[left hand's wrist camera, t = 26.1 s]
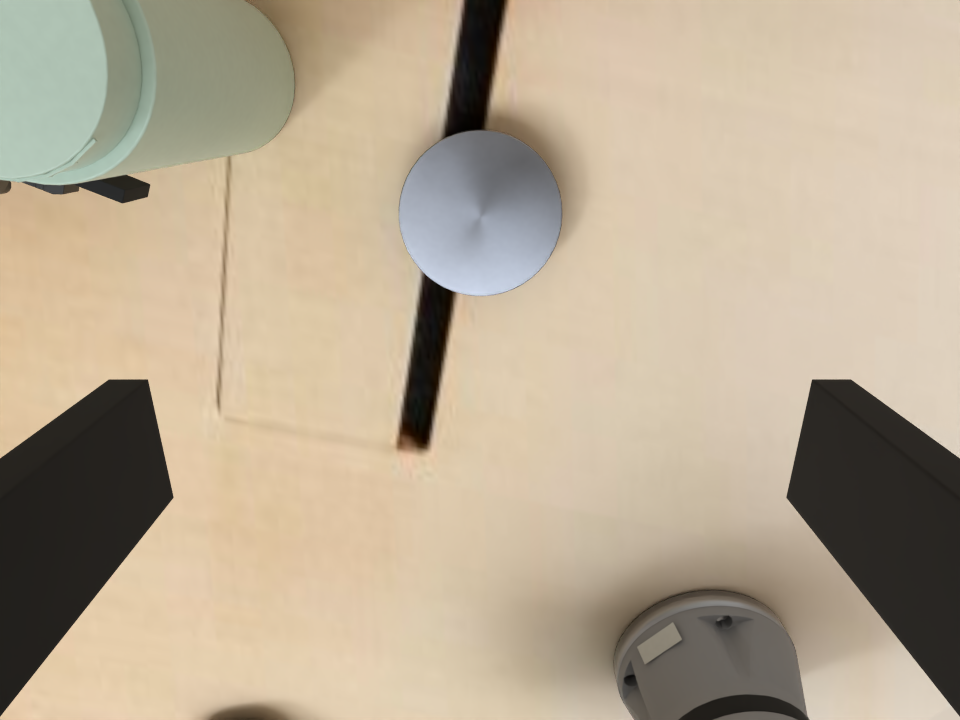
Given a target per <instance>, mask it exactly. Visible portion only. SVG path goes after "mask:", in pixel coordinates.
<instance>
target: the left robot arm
mask: <svg viewBox="0 0 960 720" xmlns="http://www.w3.org/2000/svg"><path fill="white" fill-rule="evenodd" d="M173 498H174V497H173V493H172V488H171V484H170V479H169V474H168V470H167V465H166V461H165V456H164V452H163V447H162V442H161V438H160V433H159V429H158V424H157V419H156V415H155V410H154V406H153V401H152V397H151V392H150V387H149V383H148V380H108V381H106V382H105V383H104V384H102V385H101V386H100V387H98V388H97V389H95V390H94V391H93V392H91V393H90V394H88V395H87V396H86V397H84V398H83V399H82V400H80V401H79V402H77V403H76V404H75V405H73V406H72V407H71V408H69V409H68V410H66V411H65V412H64V413H62V414H61V415H60V416H58V417H57V418H55V419H54V420H53V421H51V422H50V423H49V424H47V425H46V426H44V427H43V428H42V429H40V430H39V431H37V432H36V433H35V434H33V435H32V436H31V437H29V438H28V439H26V440H25V441H24V442H22V443H21V444H20V445H18V446H17V447H15V448H14V449H13V450H11V451H10V452H9V453H7V454H6V455H4V456H3V457H2V458H0V716H1V715H2V714H3V712H4V711H5V710H6V708H7V707H8V706H9V705H10V703H11V702H12V701H13V700H14V698H15V697H16V696H17V695H18V693H19V692H20V691H21V690H22V688H23V687H24V686H25V684H26V683H27V682H28V681H29V679H30V678H31V677H32V676H33V674H34V673H35V672H36V671H37V669H38V668H39V667H40V666H41V664H42V663H43V662H44V660H45V659H46V658H47V657H48V655H49V654H50V653H51V652H52V650H53V649H54V648H55V647H56V645H57V644H58V643H59V642H60V640H61V639H62V638H63V636H64V635H65V634H66V633H67V631H68V630H69V629H70V628H71V626H72V625H73V624H74V623H75V621H76V620H77V619H78V618H79V616H80V615H81V614H82V612H83V611H84V610H85V609H86V607H87V606H88V605H89V604H90V602H91V601H92V600H93V599H94V597H95V596H96V595H97V594H98V592H99V591H100V590H101V588H102V587H103V586H104V585H105V583H106V582H107V581H108V580H109V578H110V577H111V576H112V575H113V573H114V572H115V571H116V570H117V568H118V567H119V566H120V565H121V563H122V562H123V561H124V559H125V558H126V557H127V556H128V554H129V553H130V552H131V551H132V549H133V548H134V547H135V546H136V544H137V543H138V542H139V541H140V539H141V538H142V537H143V535H144V534H145V533H146V532H147V530H148V529H149V528H150V527H151V525H152V524H153V523H154V522H155V520H156V519H157V518H158V517H159V515H160V514H161V513H162V511H163V510H164V509H165V508H166V506H167V505H168V504H169V503H170V501H171V500H172V499H173ZM786 498H787V499H788V500H789V501H790V503H791V504H792V505H793V506H794V508H795V509H796V510H797V511H798V513H799V514H800V515H801V517H802V518H803V519H804V520H805V522H806V523H807V524H808V525H809V527H810V528H811V529H812V530H813V532H814V533H815V534H816V535H817V537H818V538H819V539H820V541H821V542H822V543H823V544H824V546H825V547H826V548H827V549H828V551H829V552H830V553H831V554H832V556H833V557H834V558H835V559H836V561H837V562H838V563H839V565H840V566H841V567H842V568H843V570H844V571H845V572H846V573H847V575H848V576H849V577H850V578H851V580H852V581H853V582H854V583H855V585H856V586H857V587H858V588H859V590H860V591H861V592H862V594H863V595H864V596H865V597H866V599H867V600H868V601H869V602H870V604H871V605H872V606H873V607H874V609H875V610H876V611H877V612H878V614H879V615H880V616H881V618H882V619H883V620H884V621H885V623H886V624H887V625H888V626H889V628H890V629H891V630H892V631H893V633H894V634H895V635H896V636H897V638H898V639H899V640H900V642H901V643H902V644H903V645H904V647H905V648H906V649H907V650H908V652H909V653H910V654H911V655H912V657H913V658H914V659H915V660H916V662H917V663H918V664H919V666H920V667H921V668H922V669H923V671H924V672H925V673H926V674H927V676H928V677H929V678H930V679H931V681H932V682H933V683H934V684H935V686H936V687H937V688H938V690H939V691H940V692H941V693H942V695H943V696H944V697H945V698H946V700H947V701H948V702H949V703H950V705H951V706H952V707H953V708H954V710H955V711H956V712H957V713H958V715H959V716H960V458H958V457H957V456H956V455H954V454H953V453H951V452H950V451H949V450H947V449H946V448H945V447H943V446H942V445H940V444H939V443H938V442H936V441H935V440H934V439H932V438H931V437H929V436H928V435H927V434H925V433H924V432H923V431H921V430H920V429H918V428H917V427H916V426H914V425H913V424H911V423H910V422H909V421H907V420H906V419H905V418H903V417H902V416H900V415H899V414H898V413H896V412H895V411H894V410H892V409H891V408H889V407H888V406H887V405H885V404H884V403H883V402H881V401H880V400H878V399H877V398H876V397H874V396H873V395H872V394H870V393H869V392H867V391H866V390H865V389H863V388H862V387H860V386H859V385H858V384H856V383H855V382H854V381H852V380H812V383H811V387H810V392H809V397H808V401H807V406H806V410H805V415H804V419H803V424H802V429H801V433H800V438H799V442H798V447H797V452H796V456H795V461H794V465H793V470H792V474H791V479H790V484H789V488H788V493H787V497H786ZM614 672H615V677H616V681H617V685H618V689H619V693H620V696H621V698H622V701H623V703H624V704H625V706H626V708H627V709H628V711H629V712H630V714H631V715H632V717H633V718H634V720H809V718H808V716H807V711H806V706H805V700H804V694H803V689H802V683H801V677H800V671H799V666H798V660H797V655H796V650H795V647H794V644H793V642H792V640H791V638H790V637H789V635H788V633H787V631H786V630H785V628H784V626H783V625H782V623H781V622H780V620H779V618H778V617H777V616H776V615H775V614H774V613H773V612H772V611H771V610H770V609H769V608H768V607H766V606H765V605H764V604H762V603H760V602H759V601H757V600H755V599H752V598H750V597H748V596H745V595H742V594H738V593H734V592H727V591H716V590H710V591H697V592H690V593H686V594H681V595H678V596H675V597H672V598H669V599H667V600H664V601H662V602H660V603H658V604H656V605H654V606H653V607H651V608H649V609H648V610H646V611H645V612H643V613H642V614H641V615H640V616H638V617H637V618H636V619H635V620H634V621H633V622H632V623H631V624H630V625H629V626H628V628H627V629H626V630H625V632H624V633H623V635H622V636H621V638H620V640H619V642H618V645H617V647H616V650H615V655H614Z"/></svg>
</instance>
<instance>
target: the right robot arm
mask: <svg viewBox="0 0 960 720" xmlns="http://www.w3.org/2000/svg"><path fill="white" fill-rule="evenodd" d="M23 183H25V184H28V185H30V186H33V187H36V188H38V189H41V190H44V191H46V192H49V193H51V194H67V193H71V192H76V191H79V187H82V188H84V189H87V190H89V191H92V192H94V193H97V194H100V195H102V196H105V197H107V198H110V199H113V200H115V201H118V202H120V203H126V202H130V201H134V200H137V199H141V198H145V197H148V193H149V188H150V184H148V183H145V182H143V181H140V180H138V179H135V178H133V177H130V176H128V175H122V176H116V177H110V178H105V179H99V180H94V181H88V182H83V183H77V184H68V185H44V184H38V183H33V182H27V181H23ZM10 189H11V182H10V181H6V180H0V194H3V193H7V192H9V191H10Z"/></svg>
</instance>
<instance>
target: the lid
mask: <svg viewBox="0 0 960 720" xmlns="http://www.w3.org/2000/svg"><path fill="white" fill-rule="evenodd" d="M399 223H400V230H401V234H402V237H403V241H404V243H405V246H406V248H407V250H408V252H409V254H410V256H411V257H412V259H413V261H414V262H415V263H416V264H417V266H418V267H419V268H420V269H421V270H422V271H423V272H424V273H425V274H426V275H427V276H428V277H429V278H430V279H432V280H433V281H434V282H436V283H437V284H439V285H441V286H443V287H444V288H447V289H449V290H451V291H454V292H457V293H461V294H465V295H472V296H489V295H496V294H500V293H504V292H507V291H509V290H512V289H514V288H516V287H518V286H520V285H522V284H524V283H525V282H526V281H528V280H529V279H531V278H532V277H533V276H534V275H535V274H536V273H537V272H539V270H540V269H541V268H542V267H543V266H544V265H545V263H546V262H547V260H548V259H549V257H550V256H551V254H552V252H553V250H554V248H555V246H556V243H557V240H558V237H559V234H560V229H561V224H562V202H561V197H560V192H559V189H558V186H557V183H556V180H555V178H554V176H553V174H552V172H551V170H550V169H549V167H548V166H547V164H546V163H545V162H544V160H543V159H542V158H541V157H540V156H539V155H538V154H537V153H536V152H535V151H534V150H533V149H532V148H530V147H529V146H528V145H526V144H525V143H523V142H522V141H520V140H519V139H517V138H515V137H513V136H511V135H509V134H506V133H503V132H499V131H494V130H489V129H474V130H466V131H462V132H458V133H455V134H453V135H450V136H448V137H446V138H444V139H442V140H441V141H439V142H437V143H436V144H435V145H433V146H432V147H431V148H429V149H428V150H427V151H426V152H425V153H424V154H423V155H422V156H421V157H420V158H419V159H418V160H417V162H416V163H415V164H414V166H413V167H412V169H411V171H410V172H409V174H408V176H407V178H406V180H405V183H404V186H403V188H402V192H401V196H400V203H399Z"/></svg>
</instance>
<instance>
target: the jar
mask: <svg viewBox="0 0 960 720" xmlns="http://www.w3.org/2000/svg"><path fill="white" fill-rule="evenodd" d="M294 91H295V80H294V71H293V65H292V61H291V58H290V55H289V52H288V49H287V47H286V45H285V42H284V41H283V39H282V37H281V35H280V34H279V32H278V31H277V29H276V28H275V27H274V25H273V24H272V23H271V22H270V20H269V19H268V18H267V17H266V16H265V15H264V14H263V13H262V12H260V11H259V10H258V9H257V8H256V7H254V6H253V5H251V4H250V3H248V2H247V1H245V0H0V180H6V181H16V182H23V181H27V182H33V183H38V184H44V185H68V184H77V183H83V182H88V181H94V180H99V179H105V178H110V177H116V176H122V175H127V174H133V173H138V172H144V171H149V170H155V169H160V168H166V167H171V166H177V165H182V164H188V163H193V162H199V161H204V160H210V159H215V158H221V157H226V156H232V155H237V154H243V153H247V152H251V151H253V150H256V149H258V148H260V147H262V146H263V145H265V144H267V143H268V142H269V141H270V140H272V139H273V138H274V137H275V136H276V135H277V134H278V133H279V132H280V130H281V129H282V127H283V126H284V124H285V123H286V120H287V118H288V116H289V114H290V111H291V108H292V105H293V99H294Z"/></svg>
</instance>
